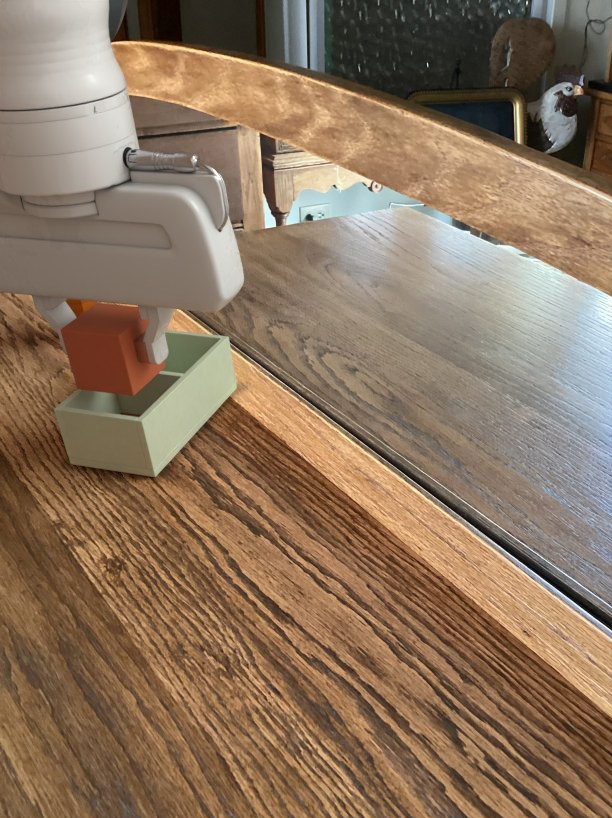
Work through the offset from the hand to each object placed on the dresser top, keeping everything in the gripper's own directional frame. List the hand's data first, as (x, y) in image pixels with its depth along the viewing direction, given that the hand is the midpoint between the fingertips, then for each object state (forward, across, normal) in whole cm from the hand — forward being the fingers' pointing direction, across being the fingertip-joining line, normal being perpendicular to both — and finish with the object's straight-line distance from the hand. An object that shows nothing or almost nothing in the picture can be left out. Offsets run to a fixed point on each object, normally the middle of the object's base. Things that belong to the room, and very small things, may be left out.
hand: (116, 356), depth 62 cm
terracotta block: (+2, 0, 0) cm, 2 cm away
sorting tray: (+7, 0, -3) cm, 8 cm away
